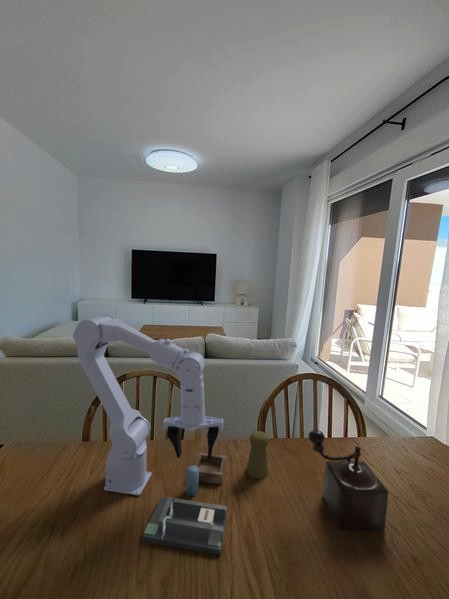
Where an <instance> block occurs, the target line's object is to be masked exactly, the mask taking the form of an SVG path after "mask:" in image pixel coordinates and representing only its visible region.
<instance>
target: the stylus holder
mask: <svg viewBox="0 0 449 599" xmlns="http://www.w3.org/2000/svg"><path fill="white" fill-rule="evenodd" d="M193 465H194V466H197V467H198V468H199V479H198V482H204V483H210V484H218V485H223V482H224V481H223V480H224V475H225V471H226V466H227V455H223V454H222V455H220V454H214V453H212V457H211V459H208V452H207V453H206V452H199V453H198V455H197V458H196V460H195V463H194V464H193Z"/></svg>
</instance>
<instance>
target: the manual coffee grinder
mask: <svg viewBox="0 0 449 599" xmlns="http://www.w3.org/2000/svg"><path fill="white" fill-rule="evenodd" d="M325 439H326V436H325V434H324V432H323V431H321V430H319V429H312V430H311V431H310V432H308V441H310V442H311V444H312V450H313V451H314V452H316V453H318V454H319V455H320V456H322V458H324V459H325V460H328V461H326V462H325V470H324V481H323V483H324V484H323V492H322V494H321V495H322V497H323V500H324V503H325V505H326V506H327V508H328V511H329V513H330V515H331V518H333V520H334V522H335V524H336V525H337V527H338V528H339V530H340V531H345V532H369V531H381V530H385V529H386V526H385V525H386V517H387V510H388V498H389V490H388V489H387V488H386V486H385V485H384V484H383V483H382V481H381V480H380V479H379V478H378V477H377V475H376V474H375V473H374V472H373V470H372V469H371V468H370V467H369V465H368V464H367V463H366V462H365V461H360V457H362V453H361V450H362V449H361V446H360V445H356V446H355V447H354V449H355V450H354V451H353V453H350V454H348V455H342V456H339V455H338V456H330V455H328V454H326V453H325V452H324V450H325V446H324V442H325ZM352 459H354V460H352Z"/></svg>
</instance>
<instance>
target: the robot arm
mask: <svg viewBox="0 0 449 599" xmlns="http://www.w3.org/2000/svg"><path fill="white" fill-rule="evenodd" d="M72 339H73V340H74V342H75V344H76V349H77V358H78V361H79V363H80V364H81V367H82V369H83V371H84V373H85V374H86V377H87V378H88V380H89V382H90V384H91V385H92V388H93V390H94V391H95V394H96V395H97V397H98V399H99V401H100V403H101V405H102V407H103V409H104V411H105V412H106V414H107V416H108V418H109V421H110V427H109V431H108V436H109V438H110V441H111V449H109V451H108V454H107V456H106V461H105V486H104V487H103V491H105V492H106V491H107V492H113V493H120V494H125V495H132V496H141V495H142V492H143V491H144V489H145V487H146V486H147V483H148V482H149V480H150V478H151V476H152V474H153V473H152V472H151V471H147V449H148V448H147V438H148V437H149V435H150V434H151V430H152V429H151V424H150V422H149V421H148V419H146V418H145V417H144V416H142V414H141V412H140V411H139V410H137V409H135V408H134V409H133V408H132V407H131V405H130V402H129V401H128V399H127V397H126V395H125V393H124V392H123V390H122V387H121V386H120V384H119V382H118V380H117V379H116V378H117V377H116V376H115V374H114V372H113V370H112V369H111V367H110V365H109V363H108V361H107V359H106V357H105V353H106V350H107V348H108V346H109V344H110V343H112V342H113V343H114V342H118V341H119V342H122V343H123V344H126V345H128V346H131V347H133V348H136V349H138V350H140V351H143V352H145V353H147V354H148V355H149V358H150V360H151V361H153V363H157V364H158V365H160V366H162V367H164V368H167V369H168V370H170V371H172V372H174V373H176V376H177V377H178V379H179V381H180V382H179V383H180V386H179V388H180V389H179V391H180V410H181V411H180V415H179V416H173V417H164V420H163V430H167V433H166V436H167V438H168V440H169V441H170V442H171V445H172V446H173V448H174V451H175V455H176V458H177V459H180V458H181V455H182V451H183V448H182V447H183V446H182V429H184V430H185V431H186V432H195V431H196V430H201V429H207V430H208V431H207V433H206V434H207V435H206V437H207V453H208V459H211V457H212V454H213V448H214V445H215V443H216V440H217V438H218V435H219V431H223V430H224V418H218V417H212V416H209V415H208V416H207V415H206V411H205V410H206V409H205V404H206V403H205V383H204V382H205V381H204V373H203V371H204V370H205V367H206V359H205V357H204V355H203V354H202V353H200V352H199V351H197V350H190V349H188V348H183V347H180V346H178V345H176V344H174V343H172V342H173V340H172V339H169V338H166V339H164V338H160V339H158V340H155V339H153V338H152V337H150V336H148V335H146V334H144V333H142V332H140V331H139V330H137V329H135V328H134V327H131V325H129V324H127V323H125V322H124V321H122V320H121V319H120V318H117V317H114V316H113V315H110V314H102V315H100V316H98V317H93V318H90V319H83V320H81V321H80V322H78V323H77V325H76V327H75V328H74V331H73V334H72Z"/></svg>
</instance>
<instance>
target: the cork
mask: <svg viewBox="0 0 449 599" xmlns="http://www.w3.org/2000/svg"><path fill="white" fill-rule="evenodd" d="M269 440H270V439H269V436H268V434H267V433H265V432H264V431H262V430H261V431H260V430H257V431H254V432H252V433H251V434H250V436H249V443H250V445H251V446H250V450H249V455H248V461H247V464H246V473H247V474H248V475H249V476H250V477H251V478H253V479H259V480H261V479H264V478H266V477H267V476H269V466H268V453H267V451H268V450H267V447H268V445H269V443H270V442H269Z"/></svg>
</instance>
